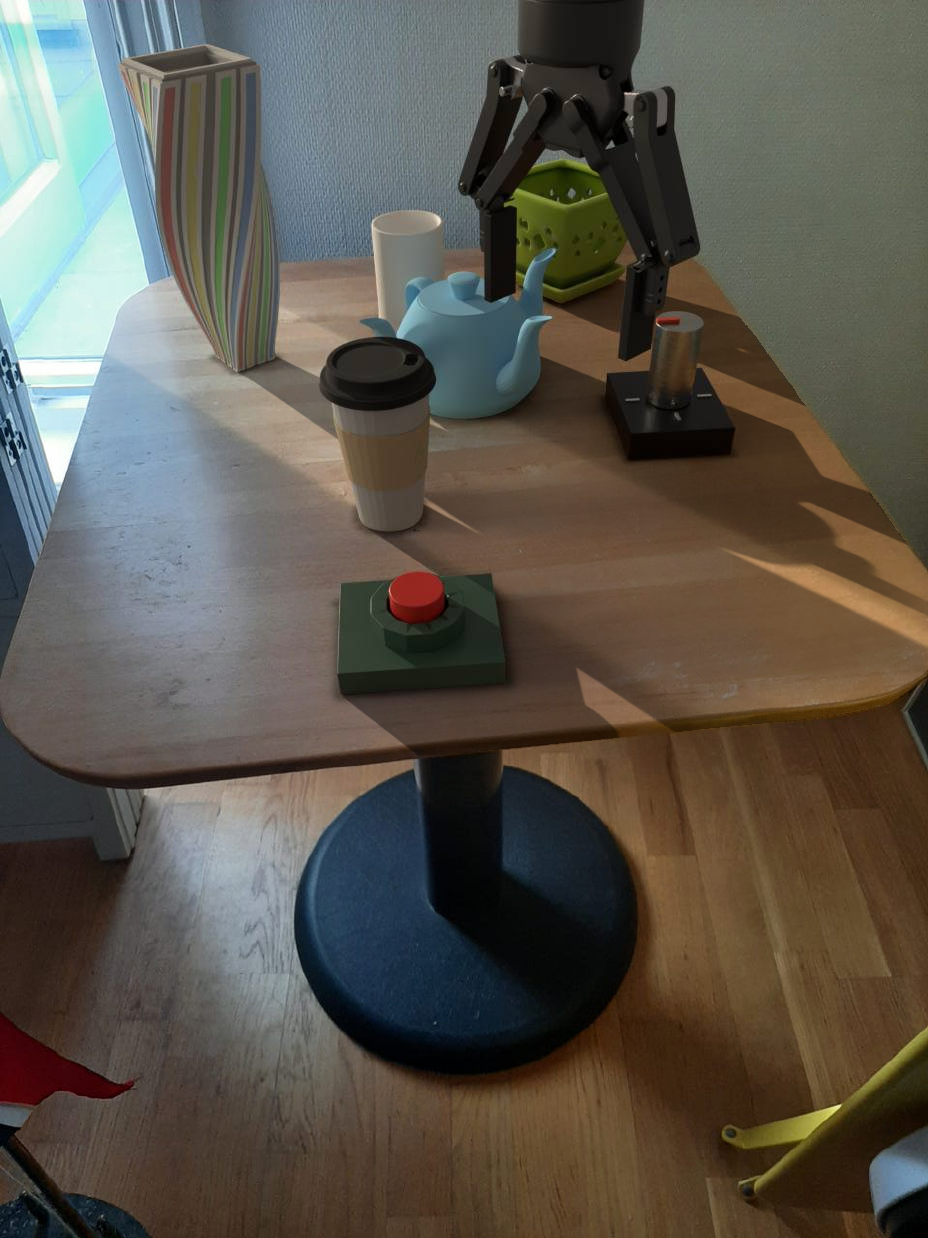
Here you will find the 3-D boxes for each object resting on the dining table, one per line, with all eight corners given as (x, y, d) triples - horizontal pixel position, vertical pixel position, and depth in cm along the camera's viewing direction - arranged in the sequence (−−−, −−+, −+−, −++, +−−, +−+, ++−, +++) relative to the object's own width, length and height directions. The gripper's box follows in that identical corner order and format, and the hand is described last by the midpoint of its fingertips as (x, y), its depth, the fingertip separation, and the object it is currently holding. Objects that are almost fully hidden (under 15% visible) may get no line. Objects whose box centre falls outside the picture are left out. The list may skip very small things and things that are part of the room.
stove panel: (730, 454, 89) (736, 425, 87) (628, 460, 89) (631, 432, 86) (697, 393, 98) (702, 365, 96) (604, 398, 97) (606, 371, 95)
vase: (221, 399, 99) (150, 84, 79) (165, 355, 107) (88, 58, 86) (327, 359, 105) (287, 58, 85) (267, 321, 113) (217, 36, 93)
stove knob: (684, 385, 93) (696, 306, 87) (696, 408, 90) (709, 326, 84) (641, 388, 93) (651, 309, 87) (651, 410, 89) (662, 329, 84)
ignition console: (505, 683, 67) (505, 643, 65) (340, 695, 67) (334, 655, 64) (491, 593, 75) (491, 554, 72) (343, 603, 74) (337, 565, 71)
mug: (359, 307, 115) (348, 207, 107) (421, 293, 118) (416, 195, 110) (393, 345, 107) (385, 241, 99) (460, 330, 110) (457, 227, 102)
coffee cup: (457, 529, 81) (452, 372, 71) (354, 555, 79) (334, 397, 68) (421, 474, 88) (412, 323, 77) (325, 496, 85) (302, 344, 75)
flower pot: (560, 316, 112) (566, 208, 104) (484, 282, 120) (483, 179, 111) (637, 283, 119) (648, 179, 110) (560, 253, 127) (565, 154, 118)
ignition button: (446, 622, 67) (445, 604, 66) (391, 626, 67) (389, 608, 66) (442, 587, 70) (442, 569, 69) (390, 590, 70) (388, 572, 68)
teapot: (553, 432, 93) (559, 315, 84) (369, 430, 94) (357, 315, 85) (550, 352, 105) (555, 244, 97) (388, 352, 106) (379, 244, 98)
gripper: (398, -33, 59) (417, 289, 74) (718, 15, 46) (664, 400, 60) (483, -47, 63) (485, 263, 77) (803, -6, 49) (733, 362, 64)
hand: (563, 323), depth 69 cm, fingers open, 13 cm apart
